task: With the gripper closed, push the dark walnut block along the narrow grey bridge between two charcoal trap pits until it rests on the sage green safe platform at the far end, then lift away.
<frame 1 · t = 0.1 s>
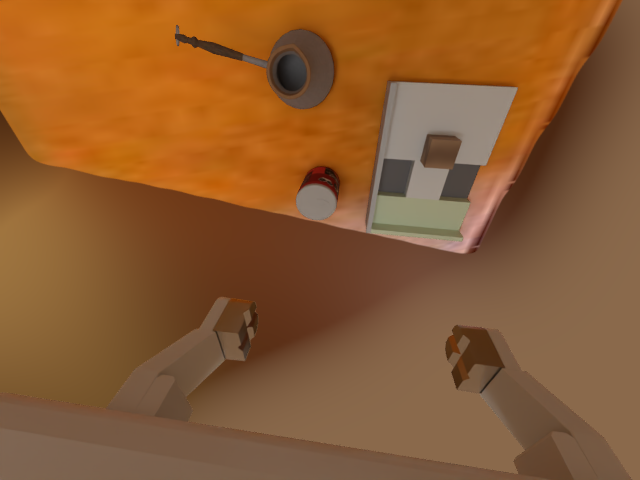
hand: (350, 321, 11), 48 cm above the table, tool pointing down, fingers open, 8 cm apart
walnut block: (436, 148, 49), point 2 cm above the table, touching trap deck
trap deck: (428, 165, 53), on the table
canned food: (322, 181, 58), on the table
coffee pot: (278, 62, 46), on the table
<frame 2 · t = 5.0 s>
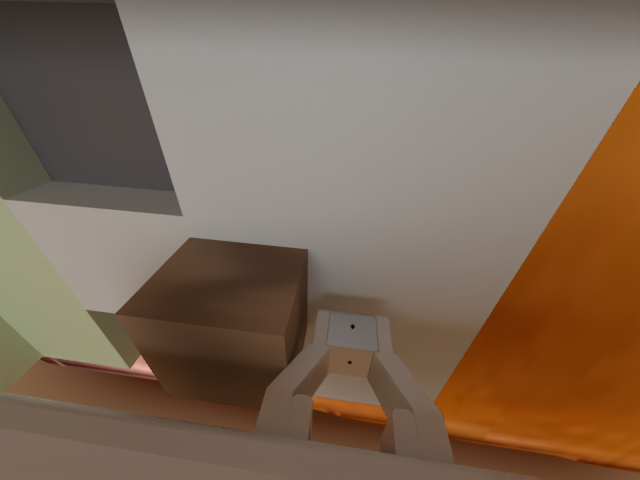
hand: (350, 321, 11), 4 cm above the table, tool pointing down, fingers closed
walnut block: (254, 286, 12), point 3 cm above the table, touching gripper
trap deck: (200, 246, 14), on the table
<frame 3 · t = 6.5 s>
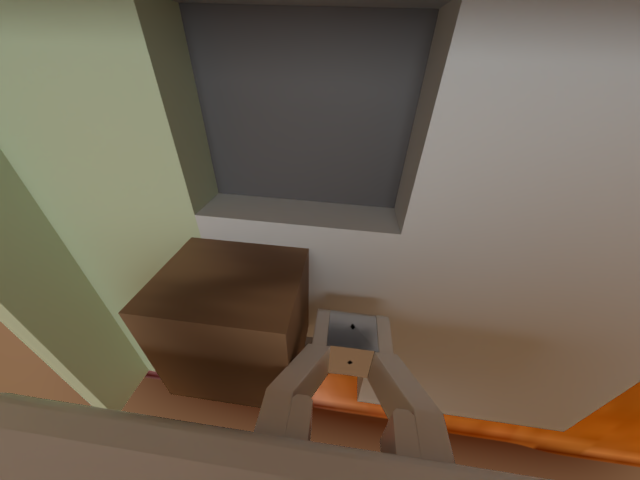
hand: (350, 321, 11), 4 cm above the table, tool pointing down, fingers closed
walnut block: (256, 286, 12), point 2 cm above the table, touching gripper, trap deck
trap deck: (351, 260, 14), on the table
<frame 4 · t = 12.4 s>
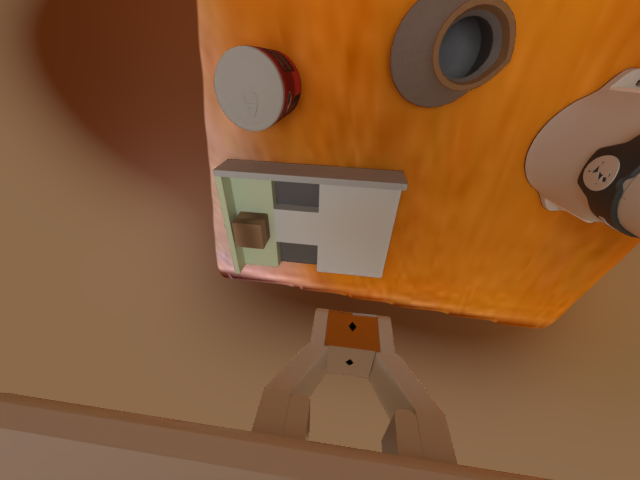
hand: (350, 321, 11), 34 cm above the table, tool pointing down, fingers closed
walnut block: (255, 224, 47), point 2 cm above the table, touching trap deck
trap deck: (311, 222, 48), on the table
canned food: (275, 85, 36), on the table
coffee pot: (457, 2, 29), on the table
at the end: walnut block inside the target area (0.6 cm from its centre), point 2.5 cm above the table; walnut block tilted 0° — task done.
